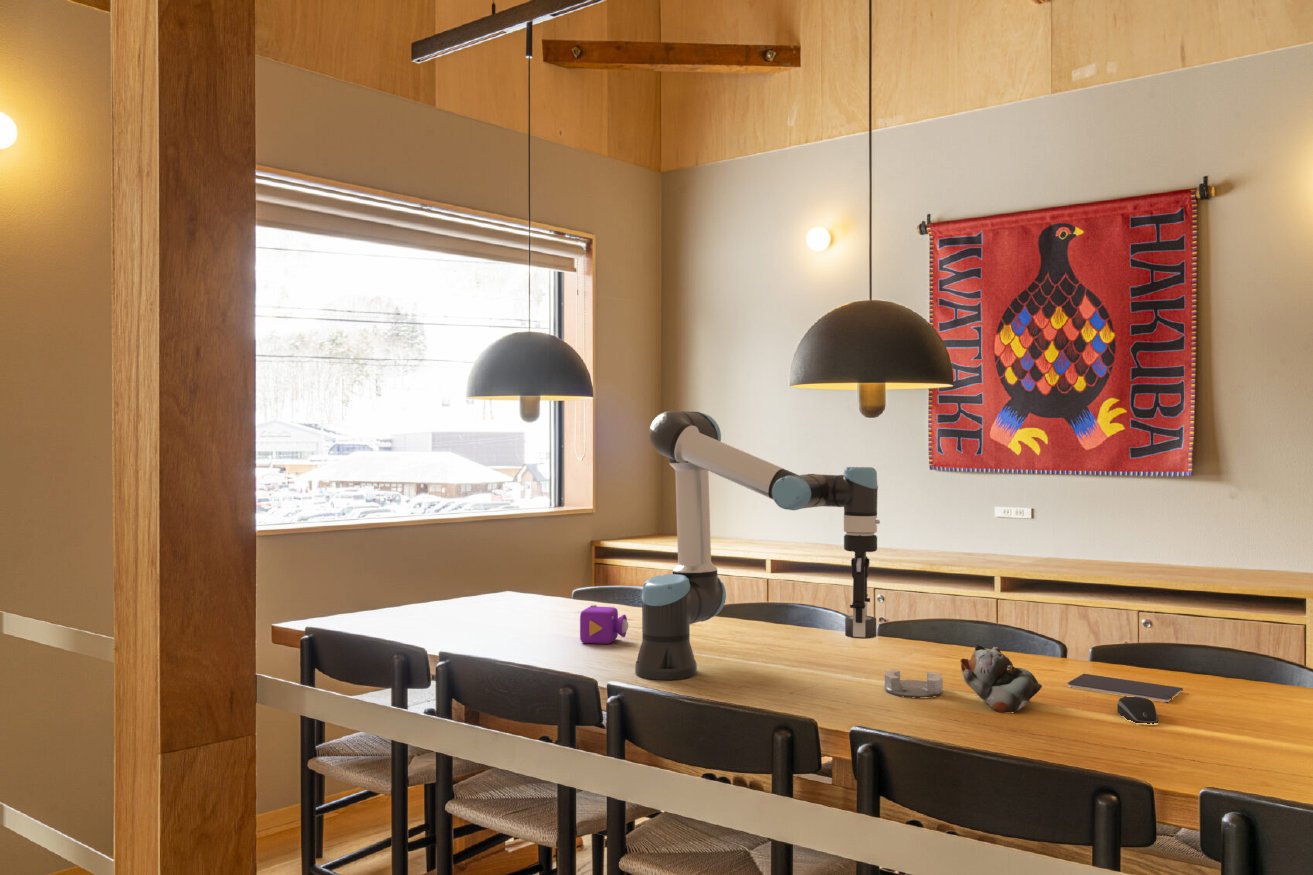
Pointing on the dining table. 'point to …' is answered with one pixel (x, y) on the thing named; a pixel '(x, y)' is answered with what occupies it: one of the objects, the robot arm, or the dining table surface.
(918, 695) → the barrel ring
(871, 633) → the cylinder
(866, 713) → the dining table surface
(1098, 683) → the notebook
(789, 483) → the robot arm
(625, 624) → the toy camera
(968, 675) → the lucky cat figurine
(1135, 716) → the computer mouse
